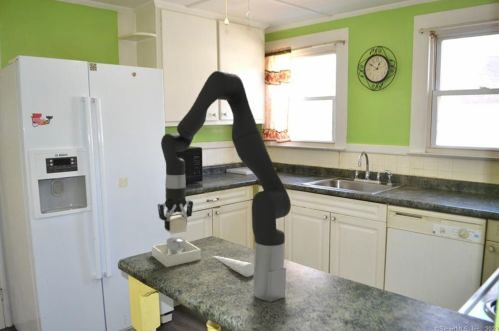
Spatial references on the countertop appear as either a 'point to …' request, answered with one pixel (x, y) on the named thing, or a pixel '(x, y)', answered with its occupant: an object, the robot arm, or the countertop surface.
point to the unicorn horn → (238, 266)
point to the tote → (188, 256)
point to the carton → (177, 224)
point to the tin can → (175, 245)
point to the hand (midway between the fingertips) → (175, 228)
